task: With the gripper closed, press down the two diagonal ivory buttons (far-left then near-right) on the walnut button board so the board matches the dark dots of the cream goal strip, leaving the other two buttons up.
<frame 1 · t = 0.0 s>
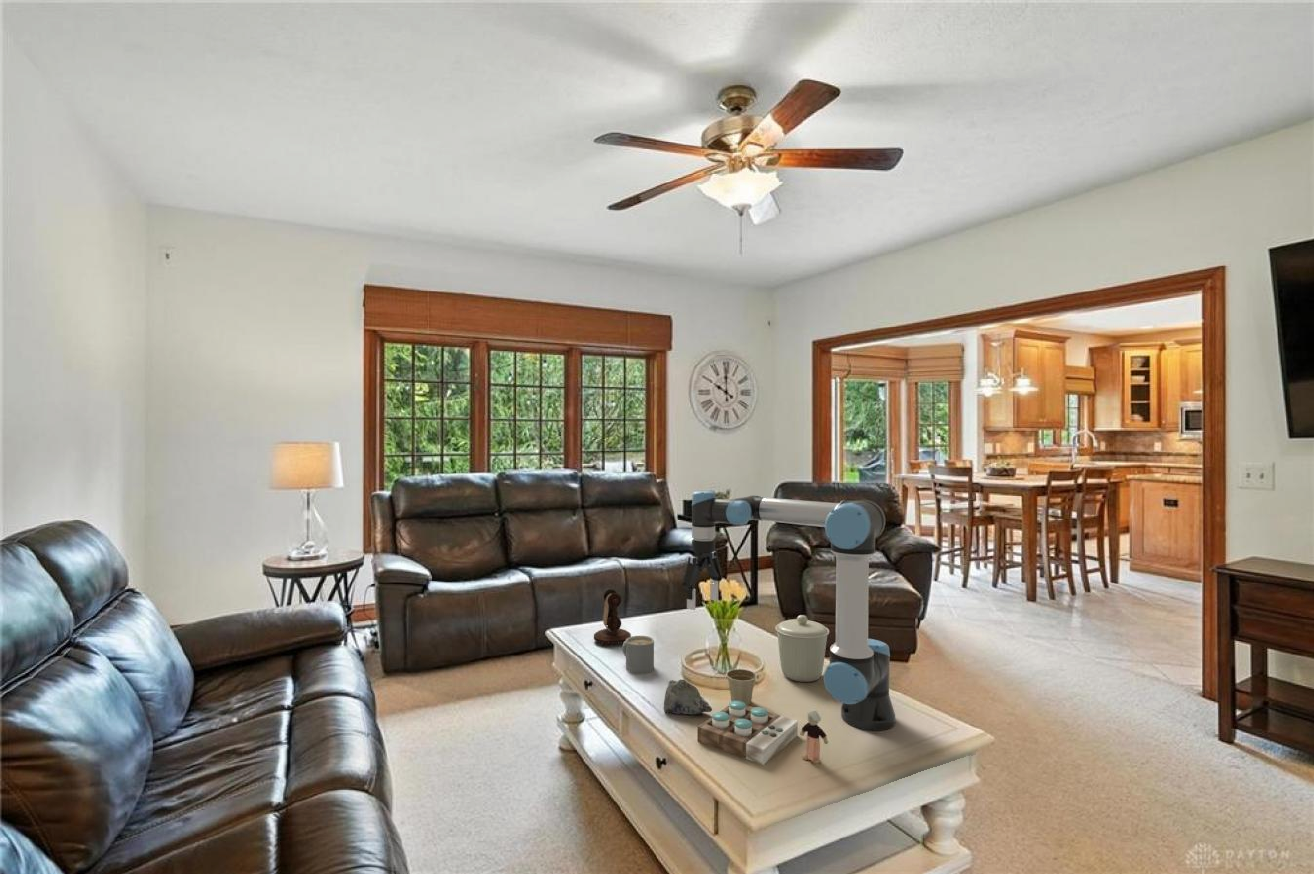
hand: (702, 604, 206), 28 cm above the table, fingers open, 13 cm apart
flower pot: (741, 702, 198), on the table
button board: (748, 738, 175), on the table
grandmother figurine: (813, 761, 163), on the table
button A: (759, 718, 177), point 4 cm above the table, slide at 0.0 cm
mineral rock: (686, 714, 189), on the table
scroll: (612, 641, 254), on the table
button B: (743, 730, 170), point 4 cm above the table, slide at 0.0 cm
button D: (720, 722, 175), point 4 cm above the table, slide at 0.0 cm
canister: (801, 677, 219), on the table
coffee mug: (637, 667, 227), on the table
button C: (737, 711, 182), point 4 cm above the table, slide at 0.0 cm
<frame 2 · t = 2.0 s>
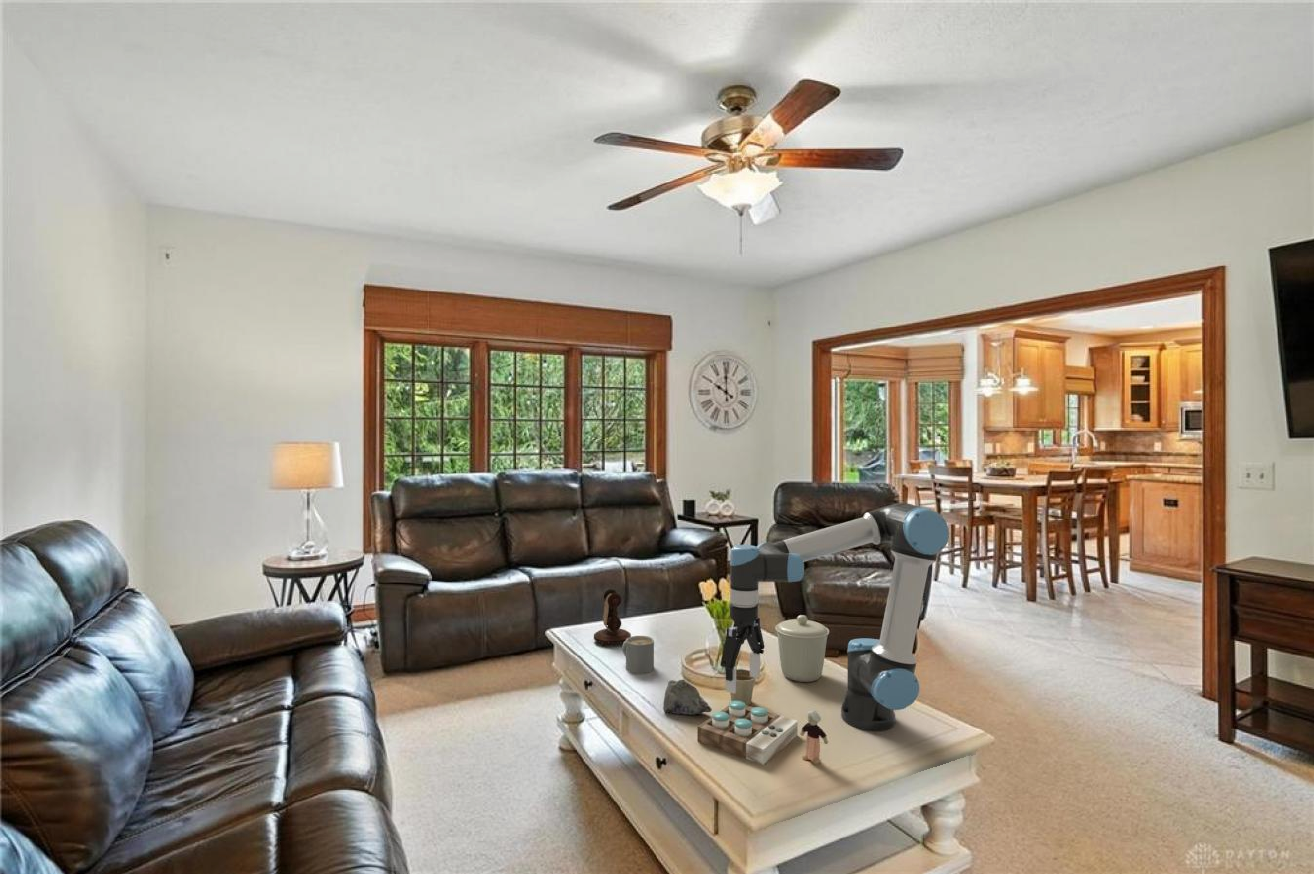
hand: (743, 684, 170), 16 cm above the table, fingers open, 12 cm apart
nothing on the table moved.
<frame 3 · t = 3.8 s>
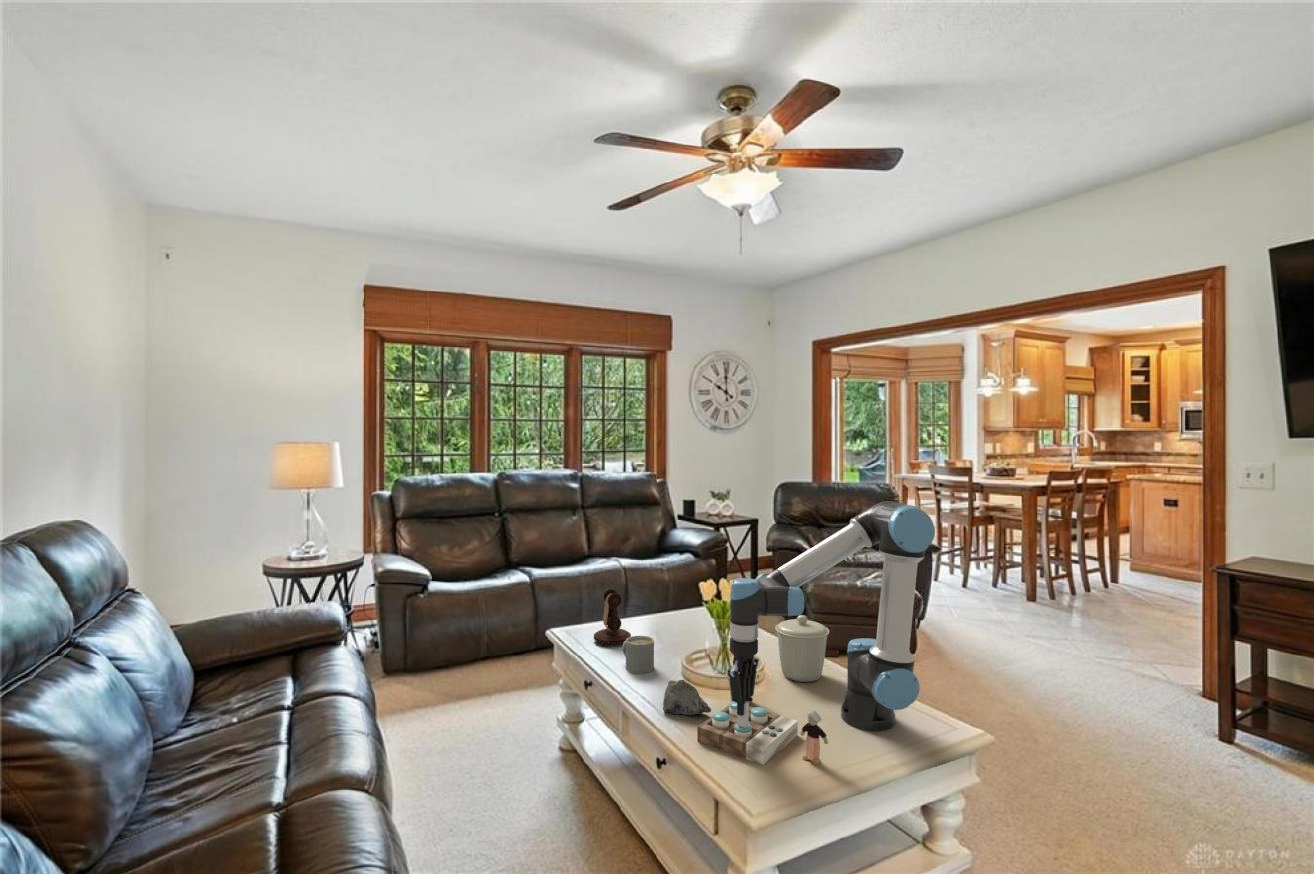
hand: (742, 725, 170), 5 cm above the table, fingers closed
button B: (743, 733, 170), point 3 cm above the table, slide at 1.0 cm, touching gripper
everything else where it was.
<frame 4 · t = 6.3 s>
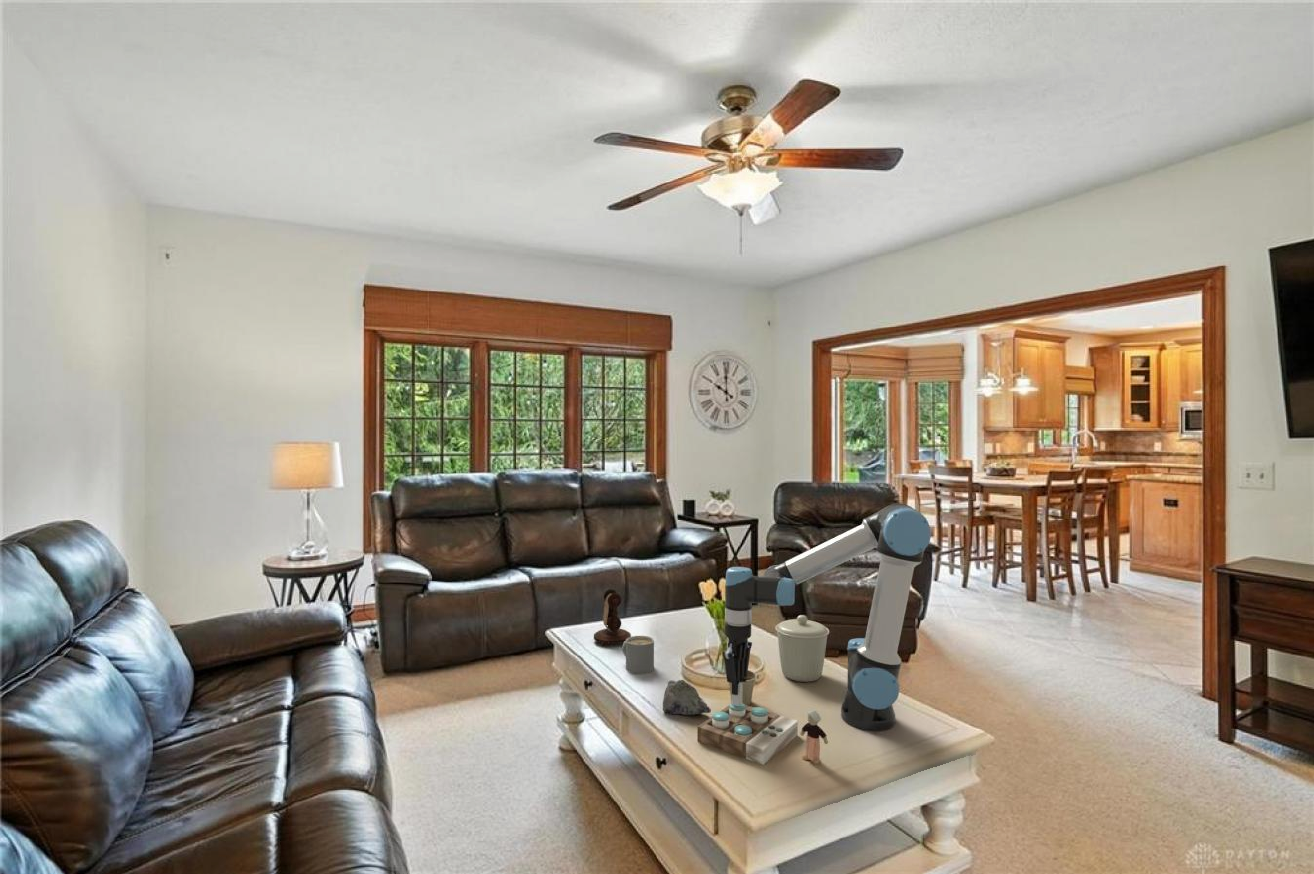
hand: (736, 704, 182), 6 cm above the table, fingers closed
button B: (743, 736, 170), point 2 cm above the table, slide at 1.8 cm
button C: (737, 712, 182), point 4 cm above the table, slide at 0.4 cm, touching gripper
everything else where it was.
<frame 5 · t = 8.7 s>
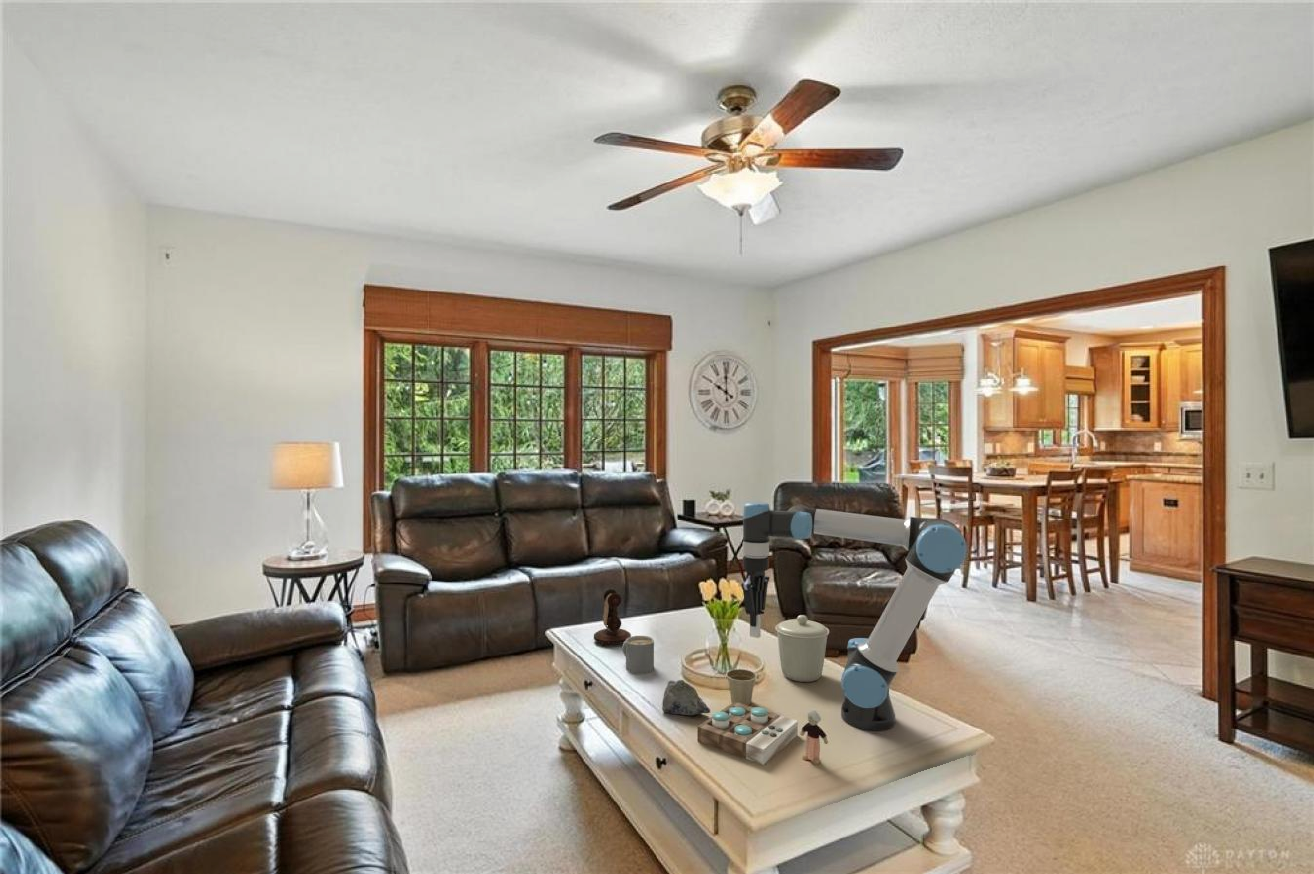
hand: (755, 636, 185), 24 cm above the table, fingers closed
button C: (737, 717, 182), point 2 cm above the table, slide at 1.8 cm
everything else where it was.
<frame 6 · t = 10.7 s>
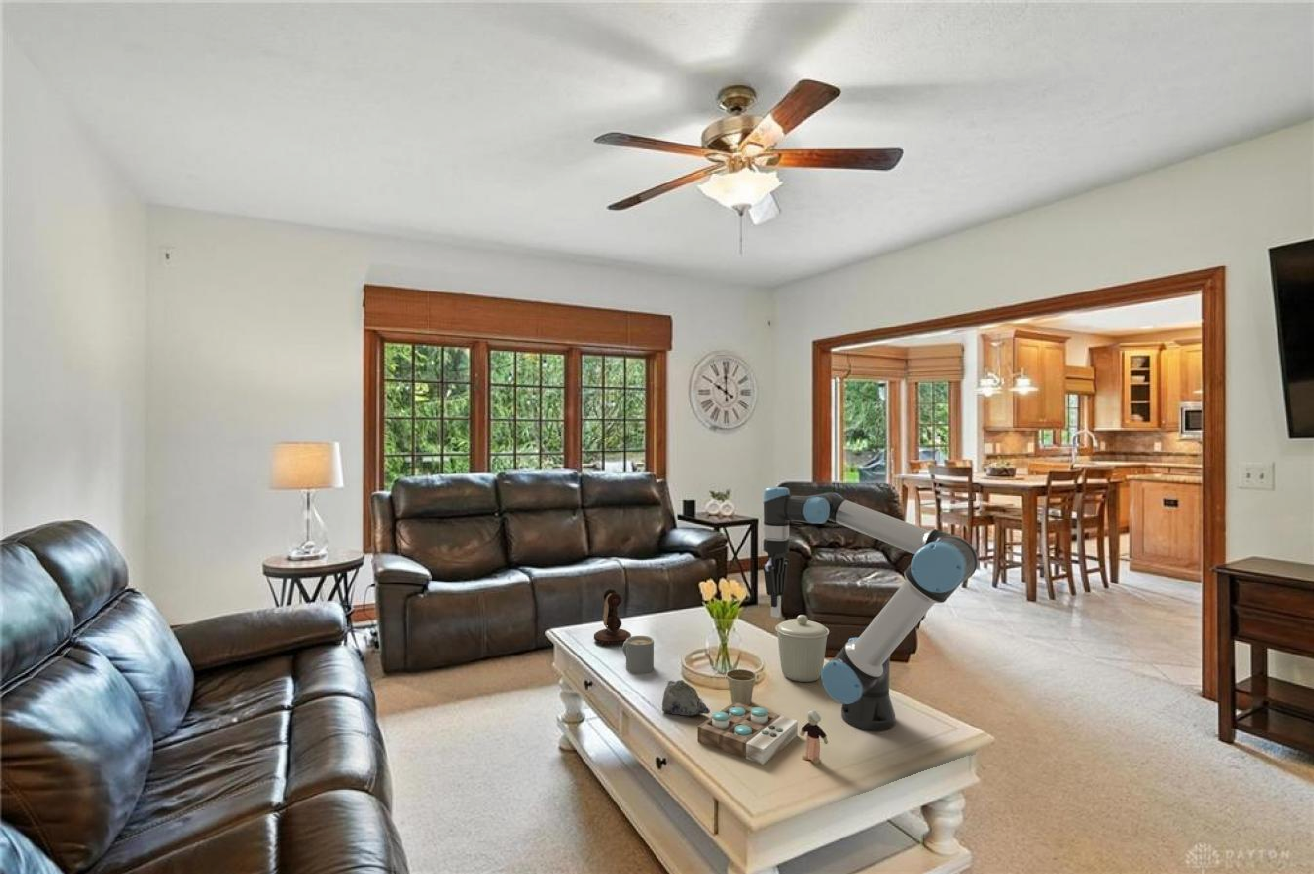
hand: (775, 616, 191), 28 cm above the table, fingers closed
nothing on the table moved.
at the end: button B slide at 1.8 cm; button C slide at 1.8 cm; button D slide at 0.0 cm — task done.
